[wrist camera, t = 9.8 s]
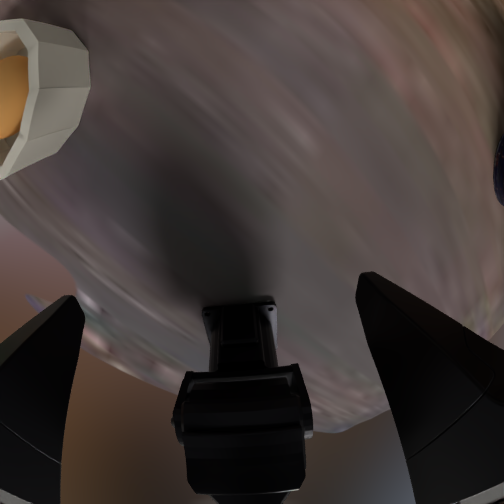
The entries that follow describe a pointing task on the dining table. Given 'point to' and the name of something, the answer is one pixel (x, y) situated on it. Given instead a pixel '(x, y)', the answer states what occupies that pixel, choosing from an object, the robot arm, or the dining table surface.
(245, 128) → the dining table surface
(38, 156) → the off-white faceted bowl
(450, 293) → the dining table surface
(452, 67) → the dining table surface
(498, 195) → the storage jar
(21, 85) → the ball
